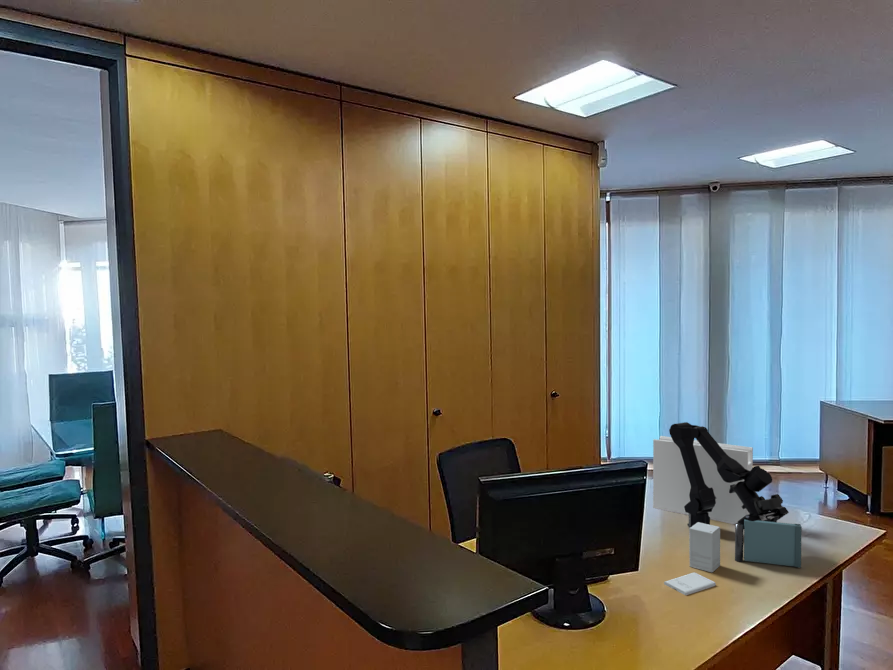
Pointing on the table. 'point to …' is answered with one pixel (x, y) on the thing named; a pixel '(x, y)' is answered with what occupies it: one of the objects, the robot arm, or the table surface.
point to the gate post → (739, 542)
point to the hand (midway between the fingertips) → (779, 542)
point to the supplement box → (704, 546)
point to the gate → (772, 542)
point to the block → (675, 483)
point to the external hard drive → (690, 583)
